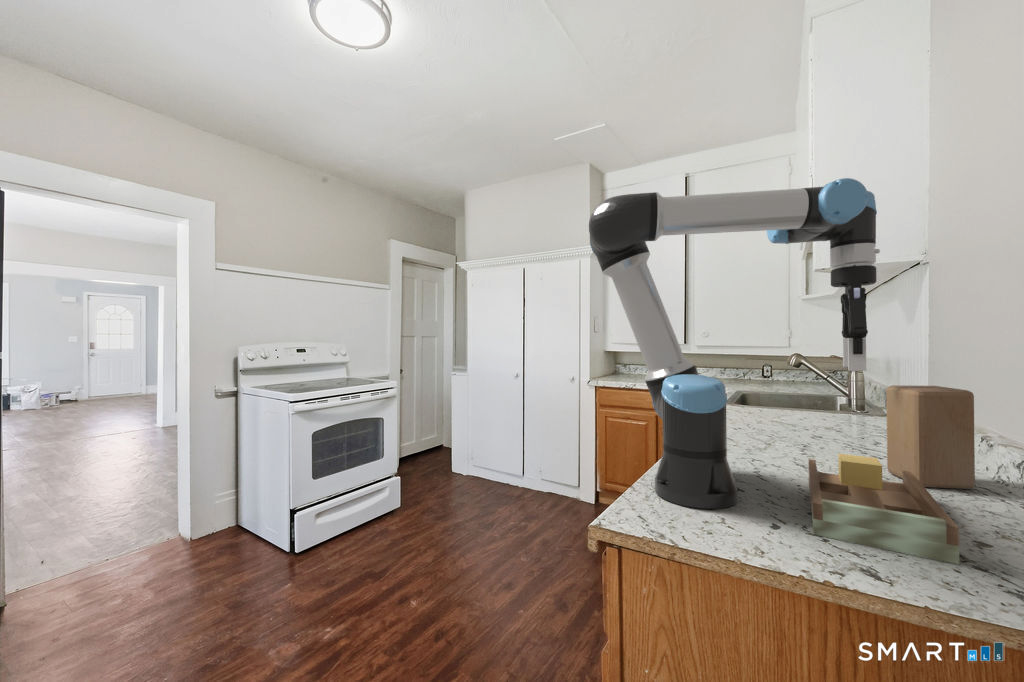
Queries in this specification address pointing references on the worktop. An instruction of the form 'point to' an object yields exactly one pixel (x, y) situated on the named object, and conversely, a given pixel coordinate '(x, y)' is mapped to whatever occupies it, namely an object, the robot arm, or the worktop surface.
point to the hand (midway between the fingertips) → (853, 368)
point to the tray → (883, 516)
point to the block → (931, 435)
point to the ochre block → (860, 471)
